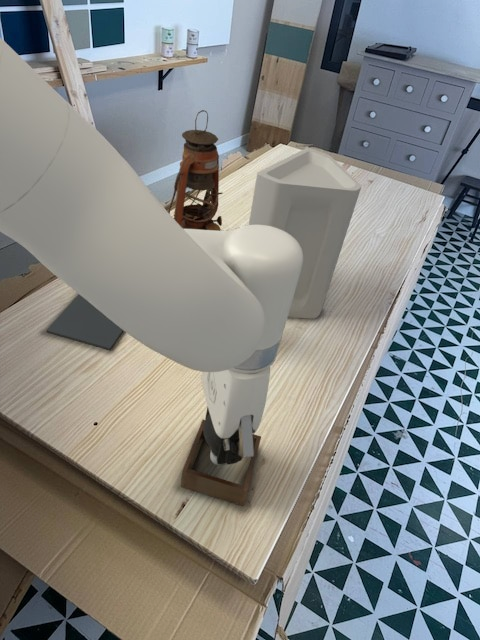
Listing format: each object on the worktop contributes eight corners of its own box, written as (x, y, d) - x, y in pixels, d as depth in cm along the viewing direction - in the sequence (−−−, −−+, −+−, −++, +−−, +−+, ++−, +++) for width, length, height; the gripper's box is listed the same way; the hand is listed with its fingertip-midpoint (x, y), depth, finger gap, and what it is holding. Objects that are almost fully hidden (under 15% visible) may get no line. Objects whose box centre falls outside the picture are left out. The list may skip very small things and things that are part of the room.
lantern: (195, 267, 103) (207, 129, 84) (150, 245, 107) (151, 109, 88) (236, 239, 115) (255, 112, 95) (193, 220, 119) (203, 94, 100)
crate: (242, 506, 62) (247, 490, 60) (180, 486, 63) (182, 470, 61) (257, 452, 69) (261, 436, 66) (200, 435, 70) (202, 419, 67)
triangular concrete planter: (296, 339, 89) (335, 206, 71) (233, 305, 95) (255, 173, 77) (337, 295, 102) (379, 173, 84) (280, 267, 108) (308, 147, 90)
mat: (110, 350, 81) (110, 348, 80) (46, 332, 82) (46, 330, 81) (142, 303, 91) (142, 301, 91) (85, 288, 92) (85, 286, 92)
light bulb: (223, 486, 61) (235, 441, 55) (189, 463, 63) (196, 417, 57) (245, 457, 65) (258, 412, 59) (213, 436, 67) (222, 390, 61)
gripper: (194, 291, 55) (182, 393, 66) (231, 405, 42) (209, 506, 54) (254, 289, 57) (232, 387, 68) (306, 396, 45) (270, 494, 56)
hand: (222, 439), depth 61 cm, fingers closed on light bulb, 5 cm apart
